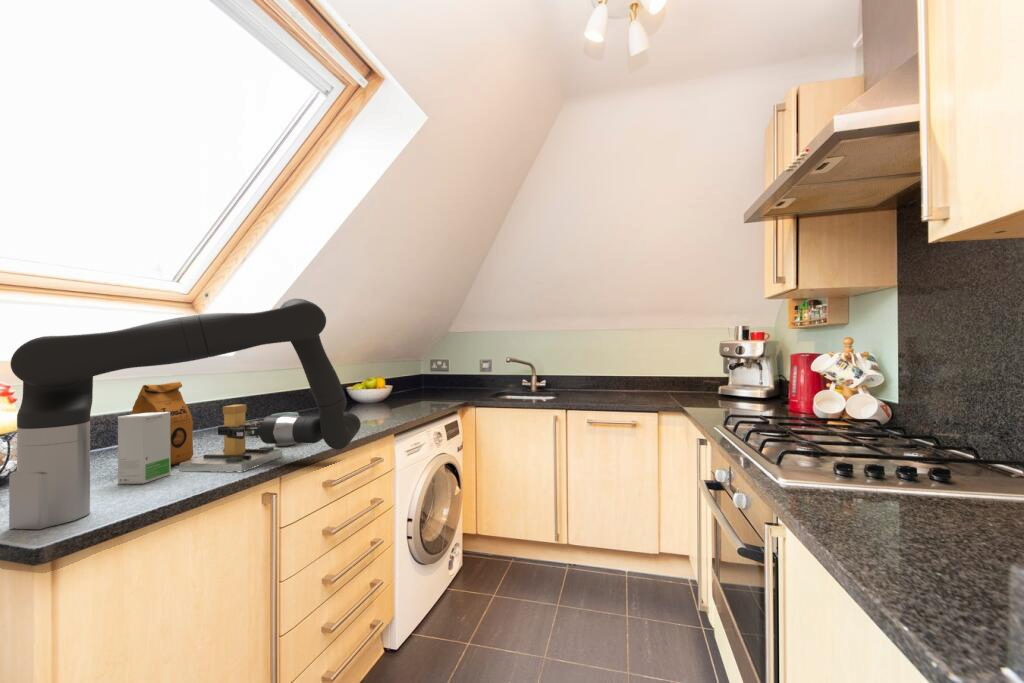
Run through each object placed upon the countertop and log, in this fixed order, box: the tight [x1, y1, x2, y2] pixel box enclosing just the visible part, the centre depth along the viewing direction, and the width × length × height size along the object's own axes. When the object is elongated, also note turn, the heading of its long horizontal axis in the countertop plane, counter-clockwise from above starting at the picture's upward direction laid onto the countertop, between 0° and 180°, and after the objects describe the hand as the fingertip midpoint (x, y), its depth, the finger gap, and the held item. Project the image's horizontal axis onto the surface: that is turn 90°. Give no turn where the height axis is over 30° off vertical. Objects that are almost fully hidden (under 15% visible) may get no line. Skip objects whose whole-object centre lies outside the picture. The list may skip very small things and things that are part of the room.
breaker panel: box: [179, 446, 283, 473], centre depth 118 cm, size 16×17×3 cm
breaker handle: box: [222, 404, 247, 455], centre depth 119 cm, size 4×3×13 cm
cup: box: [271, 411, 300, 447], centre depth 140 cm, size 8×8×10 cm
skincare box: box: [117, 412, 172, 485], centre depth 104 cm, size 8×7×16 cm
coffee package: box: [131, 381, 194, 466], centre depth 117 cm, size 10×12×22 cm
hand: (225, 429), depth 119 cm, fingers closed on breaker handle, 4 cm apart
